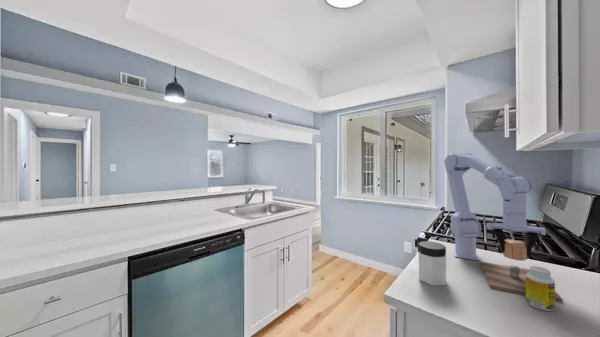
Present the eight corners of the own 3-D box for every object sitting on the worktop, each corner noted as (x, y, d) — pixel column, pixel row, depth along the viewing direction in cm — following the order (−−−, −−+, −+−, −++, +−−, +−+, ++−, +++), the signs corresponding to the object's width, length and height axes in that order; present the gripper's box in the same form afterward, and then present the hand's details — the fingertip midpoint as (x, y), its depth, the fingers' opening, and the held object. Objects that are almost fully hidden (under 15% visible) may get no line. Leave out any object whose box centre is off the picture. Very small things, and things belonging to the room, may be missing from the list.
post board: (479, 263, 90) (479, 252, 90) (536, 273, 82) (536, 260, 82) (490, 287, 73) (490, 273, 73) (562, 302, 65) (562, 286, 65)
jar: (447, 289, 73) (447, 251, 73) (418, 283, 77) (418, 247, 76) (445, 276, 81) (444, 242, 80) (419, 271, 85) (418, 239, 84)
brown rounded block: (501, 252, 81) (501, 238, 81) (523, 255, 78) (523, 241, 78) (505, 258, 76) (505, 243, 76) (528, 261, 74) (528, 246, 73)
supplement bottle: (552, 314, 60) (552, 276, 60) (523, 304, 64) (523, 268, 64) (556, 307, 63) (557, 270, 63) (528, 297, 68) (528, 263, 67)
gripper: (489, 212, 77) (489, 252, 78) (550, 217, 70) (549, 261, 70) (485, 209, 84) (485, 246, 84) (540, 213, 76) (540, 253, 76)
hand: (514, 252), depth 77 cm, fingers closed on brown rounded block, 6 cm apart
